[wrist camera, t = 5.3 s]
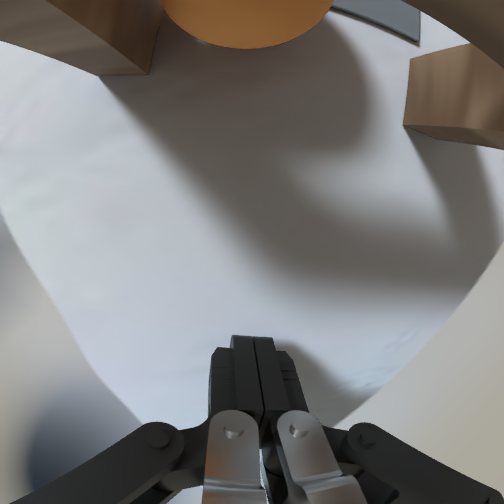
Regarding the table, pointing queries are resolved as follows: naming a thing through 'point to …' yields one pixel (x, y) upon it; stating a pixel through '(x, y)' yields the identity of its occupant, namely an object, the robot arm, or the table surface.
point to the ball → (246, 20)
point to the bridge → (420, 73)
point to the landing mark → (385, 14)
